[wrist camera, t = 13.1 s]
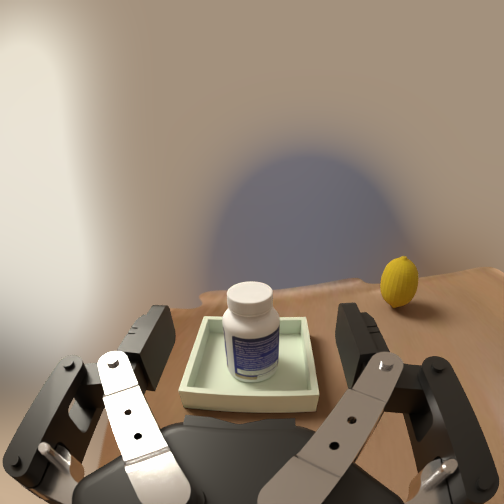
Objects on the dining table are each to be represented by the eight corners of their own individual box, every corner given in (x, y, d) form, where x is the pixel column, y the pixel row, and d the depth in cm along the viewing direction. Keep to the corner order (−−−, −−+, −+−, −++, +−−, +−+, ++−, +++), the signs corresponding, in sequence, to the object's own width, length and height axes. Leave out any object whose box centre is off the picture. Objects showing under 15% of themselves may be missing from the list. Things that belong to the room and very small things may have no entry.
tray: (304, 333, 33) (305, 316, 32) (315, 411, 22) (319, 394, 21) (206, 332, 34) (204, 316, 33) (183, 407, 23) (178, 390, 22)
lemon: (381, 294, 41) (389, 246, 38) (413, 303, 37) (424, 254, 34) (371, 311, 37) (381, 258, 34) (407, 321, 33) (420, 268, 30)
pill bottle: (288, 366, 27) (293, 292, 24) (250, 392, 24) (246, 315, 21) (254, 343, 31) (252, 273, 28) (216, 364, 28) (207, 290, 25)
